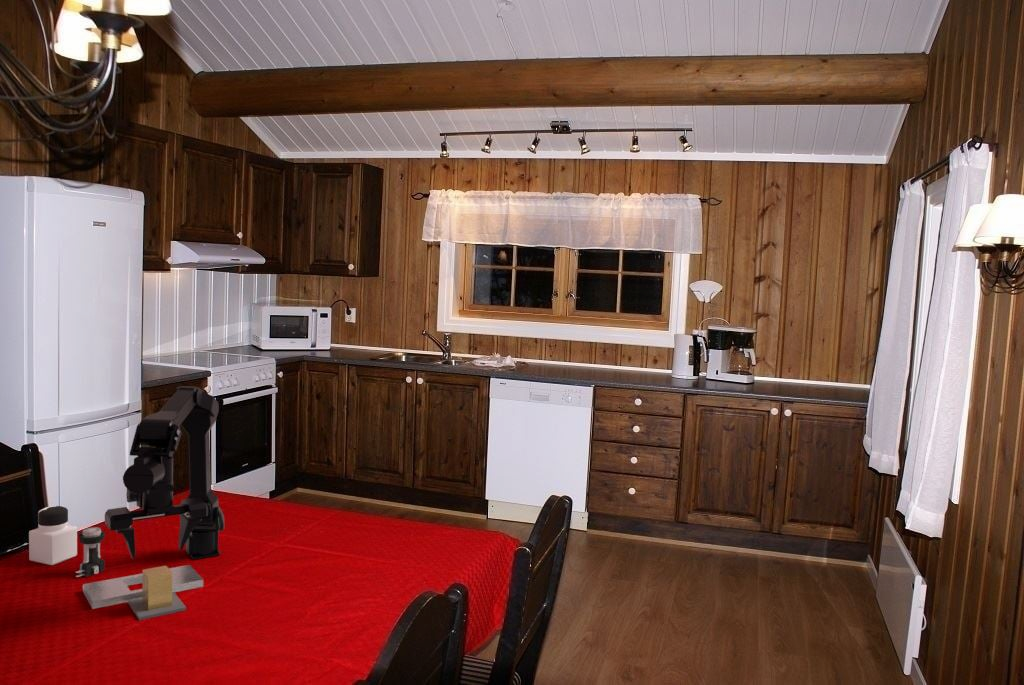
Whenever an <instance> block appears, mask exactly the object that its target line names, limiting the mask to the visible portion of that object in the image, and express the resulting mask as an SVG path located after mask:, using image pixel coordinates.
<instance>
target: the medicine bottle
mask: <svg viewBox="0 0 1024 685" xmlns="http://www.w3.org/2000/svg"><path fill="white" fill-rule="evenodd" d="M37 513H38V514H37V517H38V518H37V519H38V520H37V521H38V526H37V528H35V529H32V530H29V532H28V548H29V549H28V552H29V553H28V554H29V555H28V556H29V557H28V560H29V561H32V562H34V563H35V562H36V563H41V564H45V565H49V566H53V565H57V564H59V563H62V562H64V561H67V560H69V559H71V558H74V557H76V556H77V555H78V527H77V526H75V525H70V524H69V510H68V508H67V507H64V506H60V505H51V506H46V507H44V508H42V509H39V510H38V512H37Z"/></svg>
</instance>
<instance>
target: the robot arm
mask: <svg viewBox="0 0 1024 685" xmlns="http://www.w3.org/2000/svg"><path fill="white" fill-rule="evenodd" d="M219 406H220V405H219V402H218V401H217V398H215V396H213V395H211V394H209V393H206V392H204V391H203V389H202V388H200V387H197V386H184V385H183V386H178V387H176V389H175V390H174V394H173V395H171V397H170V399H169V400H168V401H167V402H166V404H164V406H163V407H161V409H160V410H159V411H158V412H155V413H151V414H148V415H147V416H145V417H143V418H142V419H141V420H140V422H139V423H138V424H137V426H136V429H135V432H134V436H133V440H132V443H131V447H130V449H129V456H135V457H134V458H133V464H131V465H130V466H129V467H127V468H126V469H125V471H124V473H123V475H122V480H123V482H122V483H123V485H124V487H125V488H126V494H125V495H126V501H127V502H126V503H128V504H129V503H135V502H136V507H139V509H141V510H133V511H130V509H129V508H128V507H127V506H122V507H117V508H108V509H107V510H106V511H105V513H104V524H105V525H106V527H107V528H108V529H109V530H110V531H115V532H116V533H117V534H121V535H122V537H123V538H124V541H125V543H126V544H125V545H126V547H127V549H128V552H129V555H130V557H131V559H133V560H134V559H136V558H135V557H136V540H135V538H136V537H135V529H134V527H133V526H132V525H133V523H134V522H135V521H136V522H137V521H142V520H149V519H156V518H157V519H158V518H164V517H172V516H179V523H180V524H179V534H178V550H180V551H183V549H184V548H185V552H186V553H187V555H188V556H189V557H190V558H191V559H193V560H198V559H203V558H205V559H206V558H210V557H216V556H220V555H221V551H220V550H219V532H221V531H223V530H225V516H224V513H223V510H222V509H221V507H220V505H219V503H220V502H219V497H218V496H217V495H216V493H215V492H214V491H213V489H212V486H211V485H212V484H211V480H212V479H211V478H212V476H211V451H210V450H211V442H210V440H211V438H210V436H211V435H210V434H211V433H210V431H211V429H212V428H213V426H214V425H215V423H216V422H217V417H218V414H219V411H220V410H219V409H220V407H219ZM181 427H182V429H183V430H184V431H185V433H186V434H187V435H188V436H187V437H188V468H189V469H188V470H189V495H187V498H183V499H181V502H180V504H178V505H177V504H176V505H174V492H175V485H174V454H175V452H177V450H178V446H179V443H180V440H181V436H182V430H181Z"/></svg>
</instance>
